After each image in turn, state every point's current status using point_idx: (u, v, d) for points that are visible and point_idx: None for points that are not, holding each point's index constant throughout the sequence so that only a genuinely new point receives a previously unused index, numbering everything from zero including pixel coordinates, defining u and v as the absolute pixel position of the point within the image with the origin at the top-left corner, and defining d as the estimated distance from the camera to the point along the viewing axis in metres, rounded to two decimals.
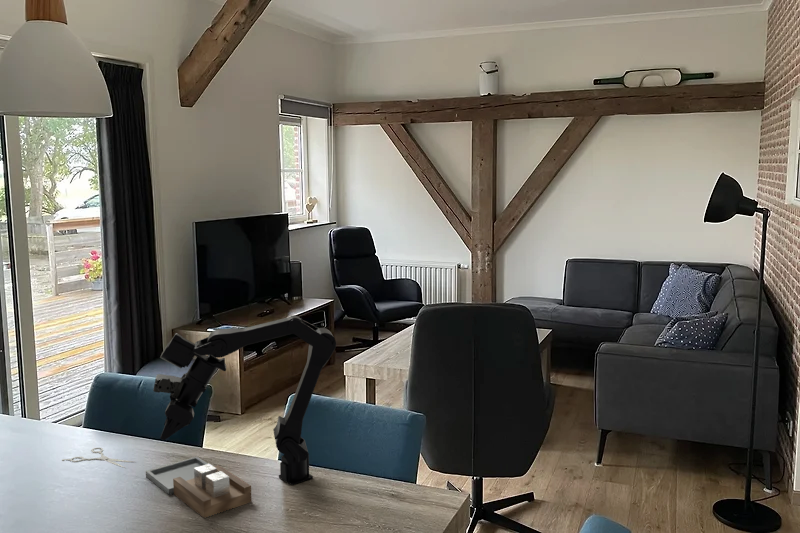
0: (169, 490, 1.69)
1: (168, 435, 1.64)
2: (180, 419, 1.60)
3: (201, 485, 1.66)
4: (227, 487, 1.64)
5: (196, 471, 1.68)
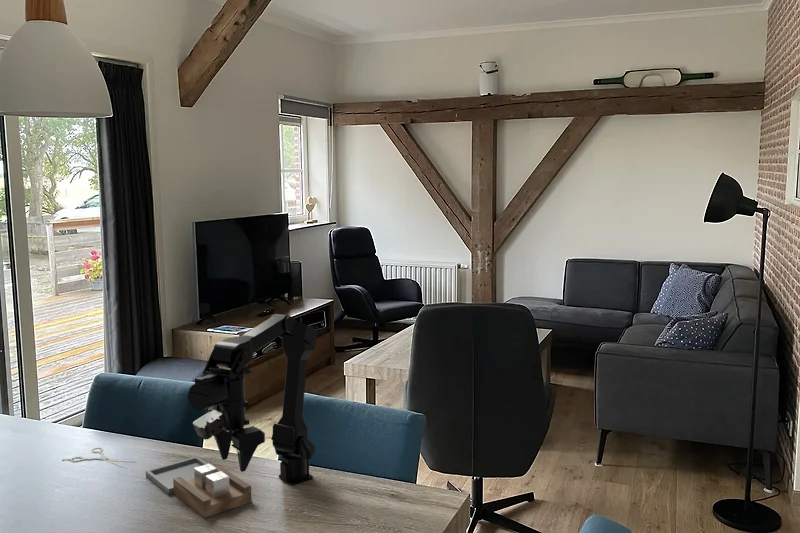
0: (169, 490, 1.69)
1: (247, 463, 1.53)
2: (256, 443, 1.49)
3: (201, 485, 1.66)
4: (227, 487, 1.64)
5: (196, 471, 1.68)
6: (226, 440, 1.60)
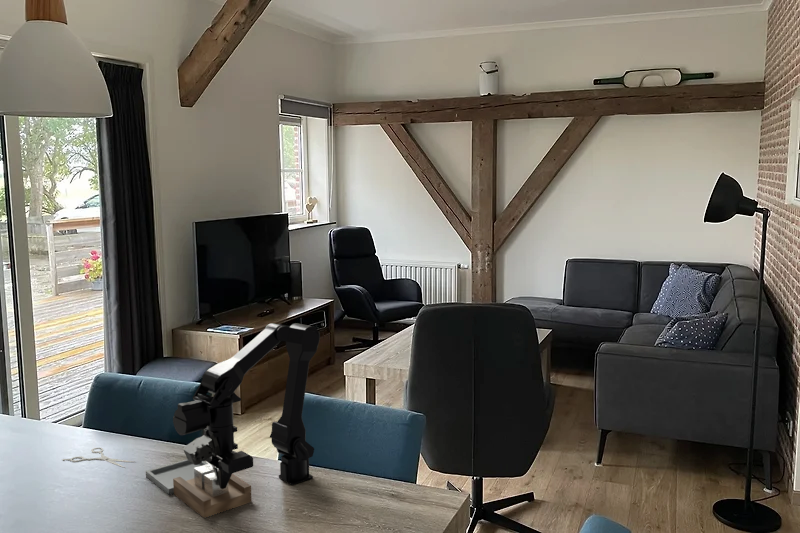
0: (169, 490, 1.69)
1: (227, 481, 1.62)
2: (245, 467, 1.55)
3: (201, 485, 1.66)
4: (226, 486, 1.64)
5: (196, 471, 1.68)
6: None
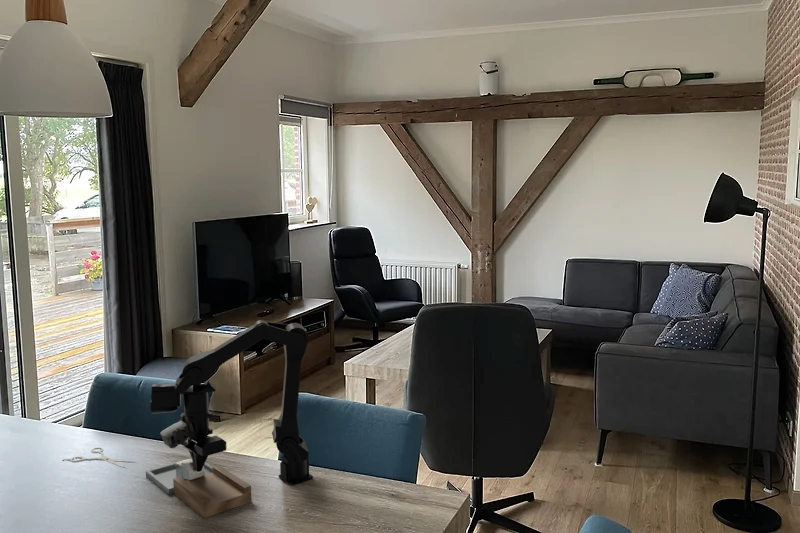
0: (169, 490, 1.69)
1: (202, 464, 1.71)
2: (218, 451, 1.64)
3: (180, 466, 1.74)
4: (202, 470, 1.73)
5: (176, 473, 1.77)
6: None
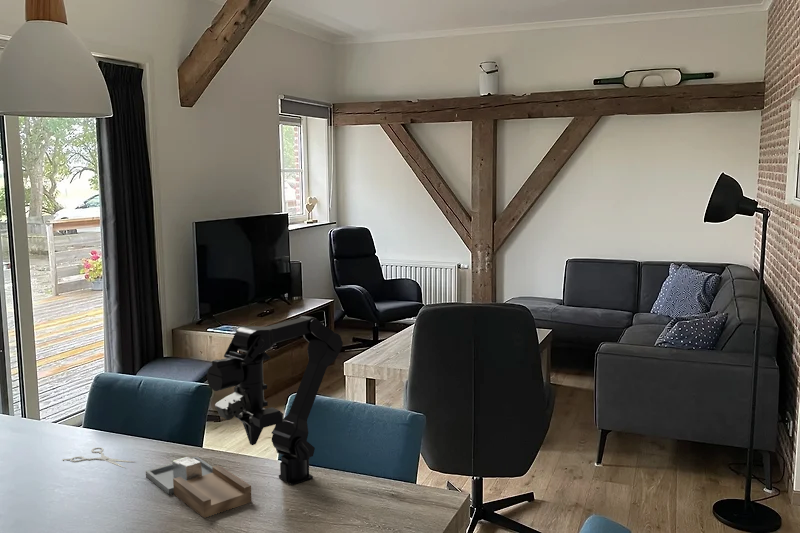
0: (169, 490, 1.69)
1: (257, 437, 1.66)
2: (275, 422, 1.59)
3: (178, 465, 1.76)
4: (199, 472, 1.74)
5: (173, 471, 1.78)
6: None
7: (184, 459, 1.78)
